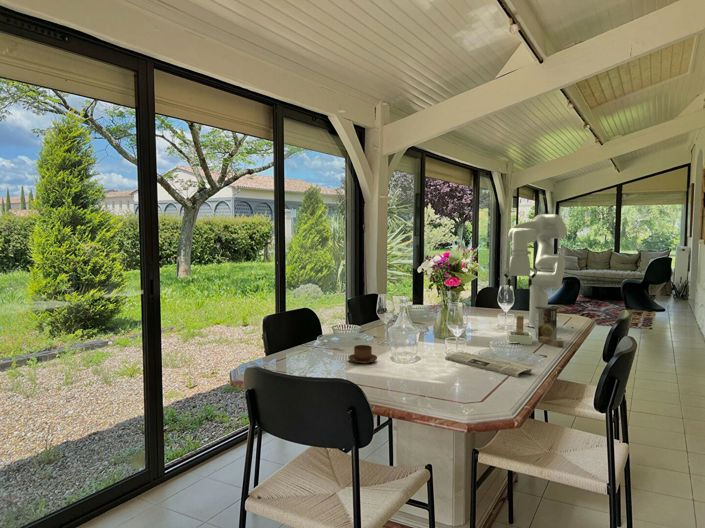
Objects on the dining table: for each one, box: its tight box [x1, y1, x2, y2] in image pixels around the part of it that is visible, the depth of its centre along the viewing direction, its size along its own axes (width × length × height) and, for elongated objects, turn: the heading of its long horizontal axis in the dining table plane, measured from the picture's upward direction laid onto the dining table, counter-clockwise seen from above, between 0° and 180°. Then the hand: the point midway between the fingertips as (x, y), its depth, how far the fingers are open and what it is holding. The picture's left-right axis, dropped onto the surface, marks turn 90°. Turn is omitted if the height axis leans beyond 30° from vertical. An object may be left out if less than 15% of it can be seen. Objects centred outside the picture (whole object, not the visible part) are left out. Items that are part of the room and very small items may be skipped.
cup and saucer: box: [348, 344, 378, 364], centre depth 210 cm, size 12×12×6 cm
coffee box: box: [534, 306, 558, 341], centre depth 251 cm, size 9×6×16 cm
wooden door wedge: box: [537, 336, 564, 348], centre depth 241 cm, size 12×3×3 cm, turn 28°
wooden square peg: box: [515, 314, 525, 335], centre depth 246 cm, size 3×3×12 cm
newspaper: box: [444, 351, 536, 378], centre depth 204 cm, size 35×12×4 cm, turn 42°
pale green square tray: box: [507, 330, 533, 346], centre depth 246 cm, size 11×11×4 cm
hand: (519, 286), depth 257 cm, fingers open, 9 cm apart
